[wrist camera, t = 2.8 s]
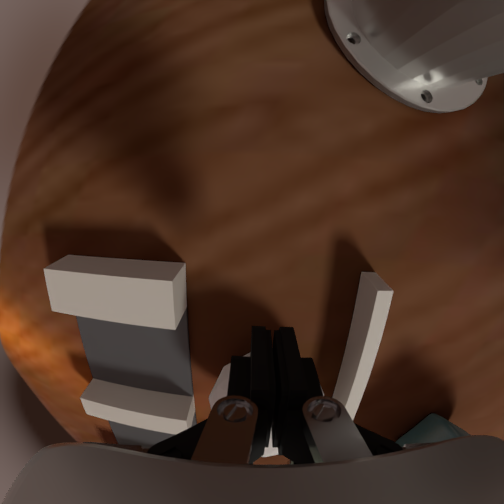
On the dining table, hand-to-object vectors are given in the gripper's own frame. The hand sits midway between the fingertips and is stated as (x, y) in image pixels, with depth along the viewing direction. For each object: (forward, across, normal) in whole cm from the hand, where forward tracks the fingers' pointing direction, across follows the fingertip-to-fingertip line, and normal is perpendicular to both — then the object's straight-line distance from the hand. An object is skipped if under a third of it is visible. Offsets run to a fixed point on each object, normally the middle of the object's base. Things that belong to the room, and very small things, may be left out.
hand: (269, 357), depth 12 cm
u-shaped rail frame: (+8, +3, +12) cm, 15 cm away
